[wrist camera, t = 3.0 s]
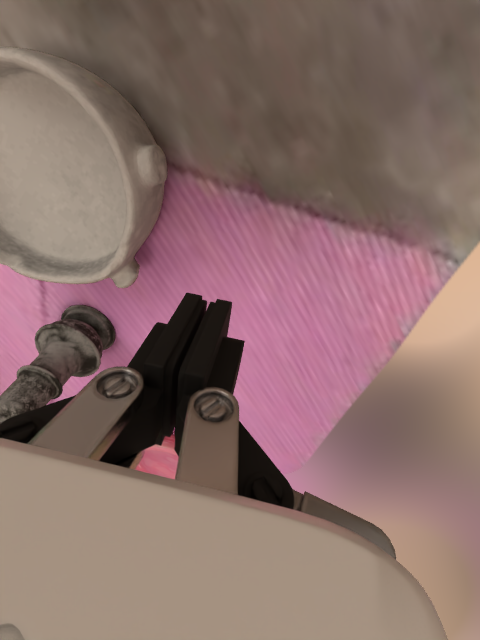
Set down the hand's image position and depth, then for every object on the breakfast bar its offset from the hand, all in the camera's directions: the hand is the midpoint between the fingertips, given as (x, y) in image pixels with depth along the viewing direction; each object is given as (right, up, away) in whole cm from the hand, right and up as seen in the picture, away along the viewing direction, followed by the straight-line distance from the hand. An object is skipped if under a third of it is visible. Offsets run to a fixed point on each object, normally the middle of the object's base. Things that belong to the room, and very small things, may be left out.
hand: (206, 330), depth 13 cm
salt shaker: (-13, 0, +20) cm, 24 cm away
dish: (-10, +11, +12) cm, 19 cm away
